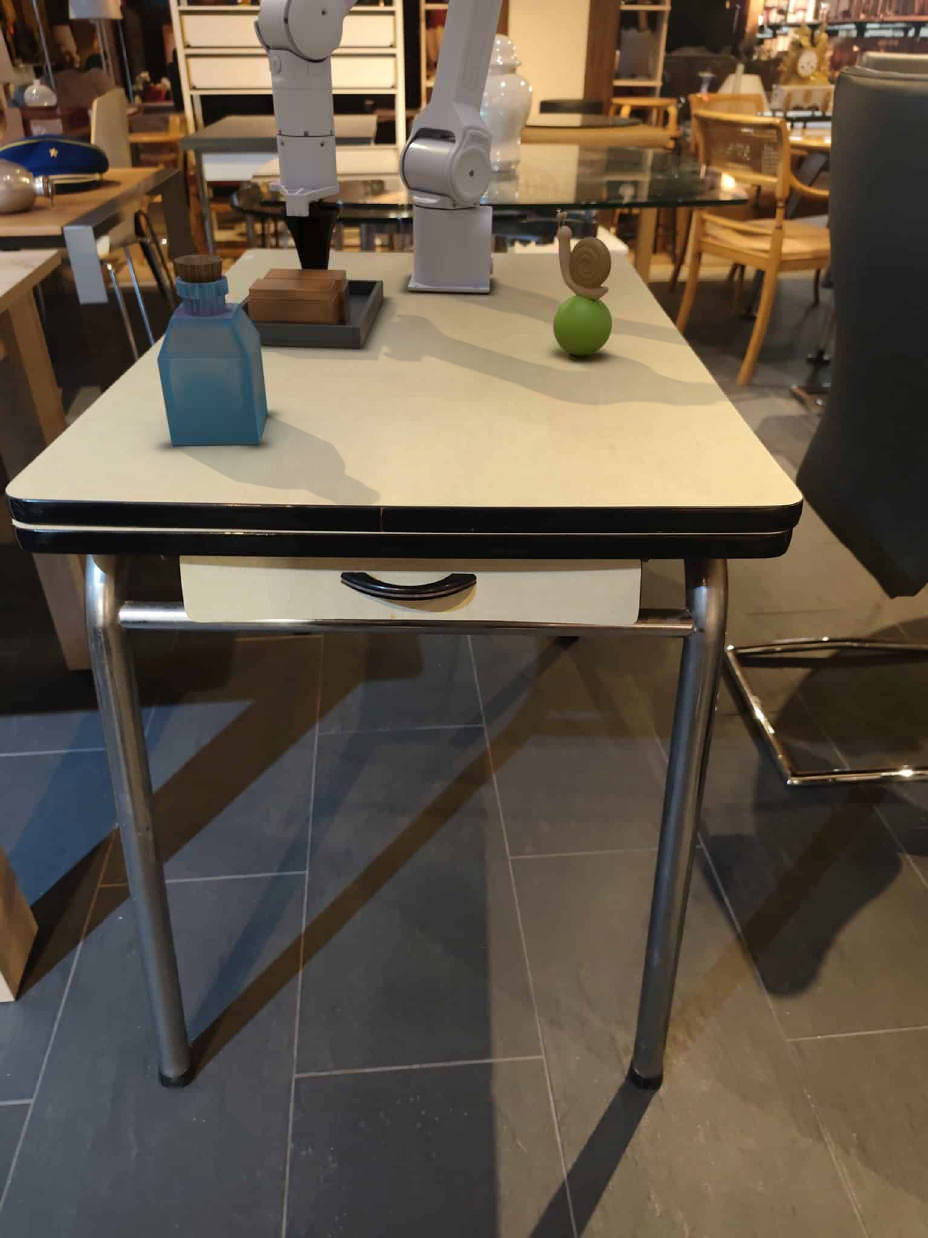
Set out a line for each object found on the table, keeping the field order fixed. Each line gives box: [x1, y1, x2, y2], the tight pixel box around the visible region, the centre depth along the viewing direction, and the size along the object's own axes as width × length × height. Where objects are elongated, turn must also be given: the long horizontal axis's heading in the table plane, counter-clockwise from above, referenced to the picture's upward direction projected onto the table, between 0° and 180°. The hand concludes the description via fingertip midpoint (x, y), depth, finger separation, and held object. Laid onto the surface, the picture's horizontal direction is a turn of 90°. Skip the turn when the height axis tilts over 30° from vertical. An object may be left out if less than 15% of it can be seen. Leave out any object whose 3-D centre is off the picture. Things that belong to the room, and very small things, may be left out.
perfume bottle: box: [156, 254, 269, 447], centre depth 63 cm, size 6×6×12 cm
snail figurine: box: [552, 211, 613, 357], centre depth 81 cm, size 5×6×12 cm
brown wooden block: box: [247, 278, 340, 325], centre depth 85 cm, size 8×4×4 cm, turn 90°
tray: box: [239, 278, 385, 349], centre depth 92 cm, size 13×19×2 cm
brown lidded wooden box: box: [262, 268, 350, 325], centre depth 89 cm, size 8×4×4 cm, turn 90°
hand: (315, 278), depth 95 cm, fingers closed
